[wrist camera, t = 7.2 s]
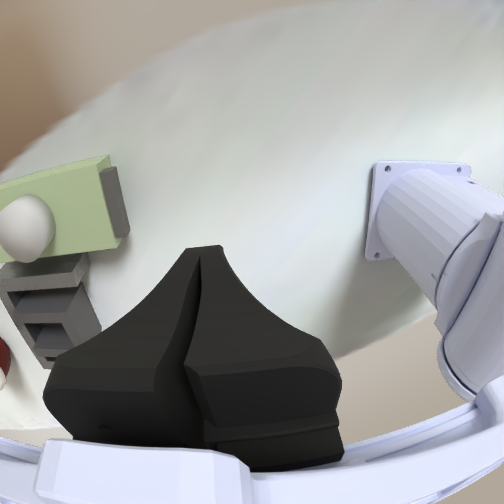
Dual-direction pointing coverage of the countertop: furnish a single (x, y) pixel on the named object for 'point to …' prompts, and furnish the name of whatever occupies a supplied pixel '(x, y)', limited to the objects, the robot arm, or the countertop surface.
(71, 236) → the pale green flat plate
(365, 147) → the countertop surface
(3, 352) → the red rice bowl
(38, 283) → the chute mount
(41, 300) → the chute
